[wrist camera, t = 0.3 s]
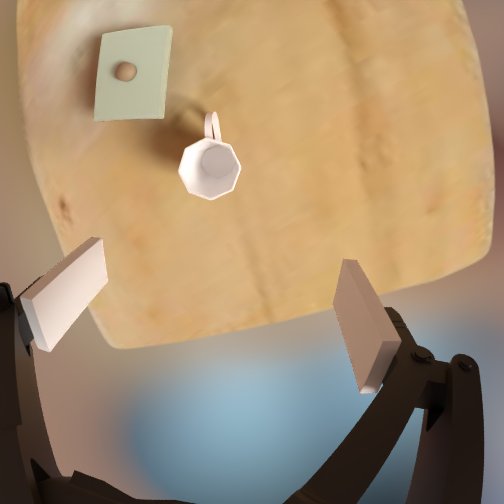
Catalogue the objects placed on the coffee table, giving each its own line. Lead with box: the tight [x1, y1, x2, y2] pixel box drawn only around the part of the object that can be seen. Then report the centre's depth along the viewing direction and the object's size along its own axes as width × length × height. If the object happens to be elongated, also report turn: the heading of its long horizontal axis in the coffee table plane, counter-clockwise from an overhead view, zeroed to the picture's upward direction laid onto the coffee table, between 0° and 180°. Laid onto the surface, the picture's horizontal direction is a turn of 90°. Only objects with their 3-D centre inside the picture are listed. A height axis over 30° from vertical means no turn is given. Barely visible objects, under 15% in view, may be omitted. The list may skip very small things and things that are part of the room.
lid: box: [94, 25, 173, 122], centre depth 30 cm, size 12×9×3 cm
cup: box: [178, 112, 241, 200], centre depth 35 cm, size 7×10×8 cm
